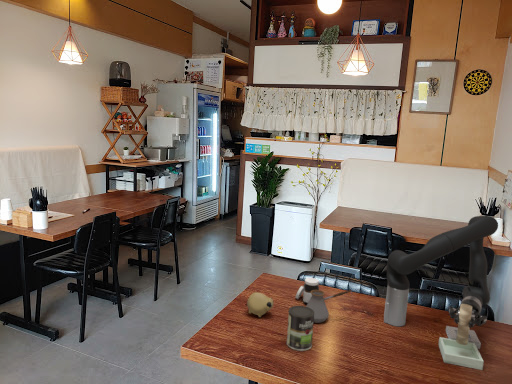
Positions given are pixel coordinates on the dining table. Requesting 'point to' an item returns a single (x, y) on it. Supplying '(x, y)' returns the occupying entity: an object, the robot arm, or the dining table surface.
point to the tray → (460, 353)
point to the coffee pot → (320, 305)
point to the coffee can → (300, 328)
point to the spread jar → (307, 289)
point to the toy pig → (259, 304)
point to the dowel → (464, 324)
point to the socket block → (472, 338)
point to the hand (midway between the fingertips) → (463, 323)
